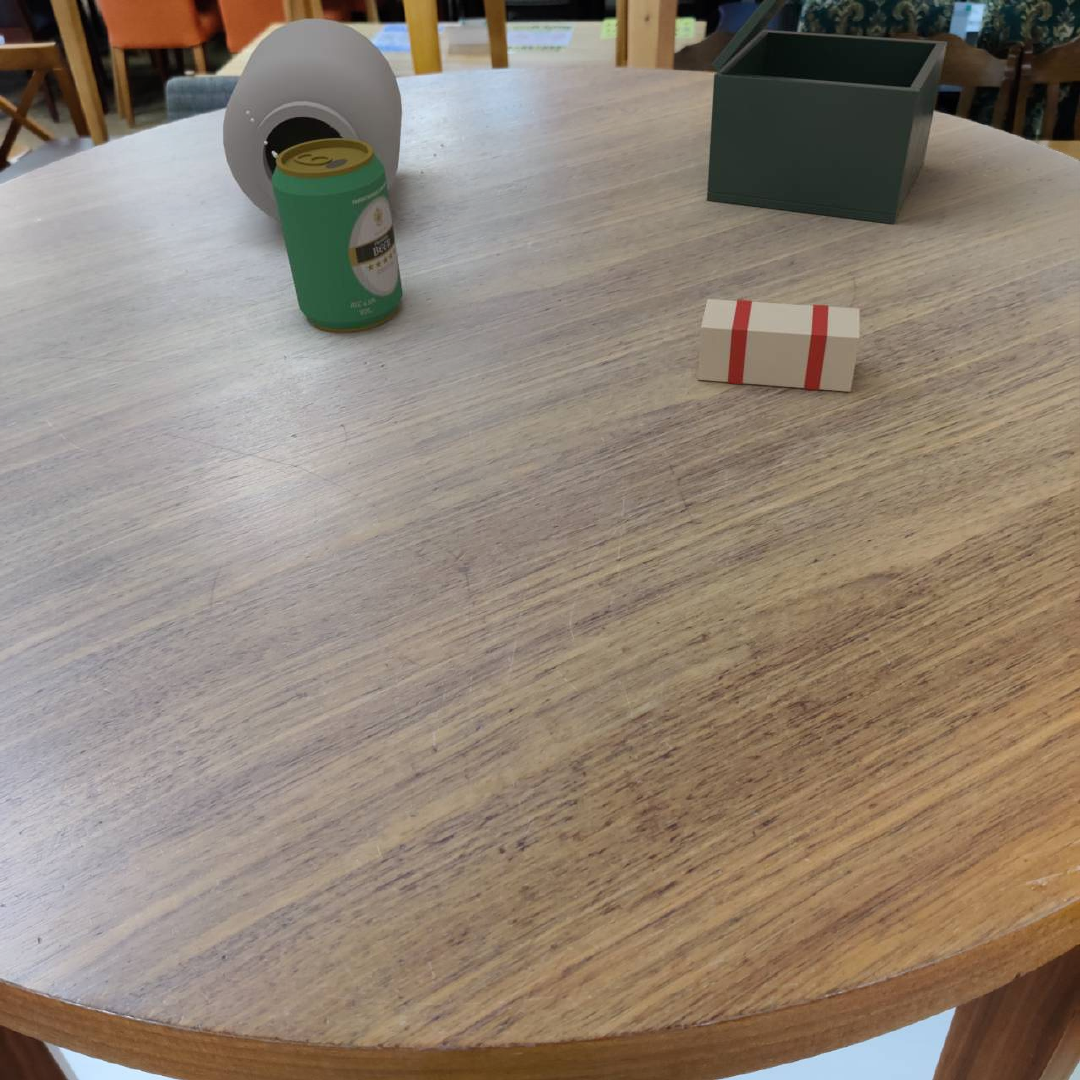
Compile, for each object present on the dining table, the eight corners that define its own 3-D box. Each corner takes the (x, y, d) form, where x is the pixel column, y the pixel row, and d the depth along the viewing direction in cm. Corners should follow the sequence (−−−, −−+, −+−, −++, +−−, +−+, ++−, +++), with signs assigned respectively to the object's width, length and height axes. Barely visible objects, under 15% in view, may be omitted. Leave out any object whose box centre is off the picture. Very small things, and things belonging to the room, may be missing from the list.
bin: (923, 164, 96) (947, 41, 89) (894, 224, 86) (918, 91, 79) (752, 146, 102) (762, 29, 95) (706, 200, 92) (713, 74, 85)
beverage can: (363, 343, 75) (334, 183, 67) (280, 322, 78) (243, 166, 70) (424, 297, 80) (403, 143, 72) (344, 279, 83) (316, 129, 76)
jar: (472, 118, 98) (426, 178, 77) (387, 236, 105) (323, 320, 83) (308, -23, 93) (210, -1, 71) (229, 111, 99) (119, 167, 78)
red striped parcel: (850, 361, 70) (859, 307, 67) (850, 393, 67) (860, 337, 64) (704, 350, 72) (707, 297, 69) (697, 381, 69) (700, 326, 66)
